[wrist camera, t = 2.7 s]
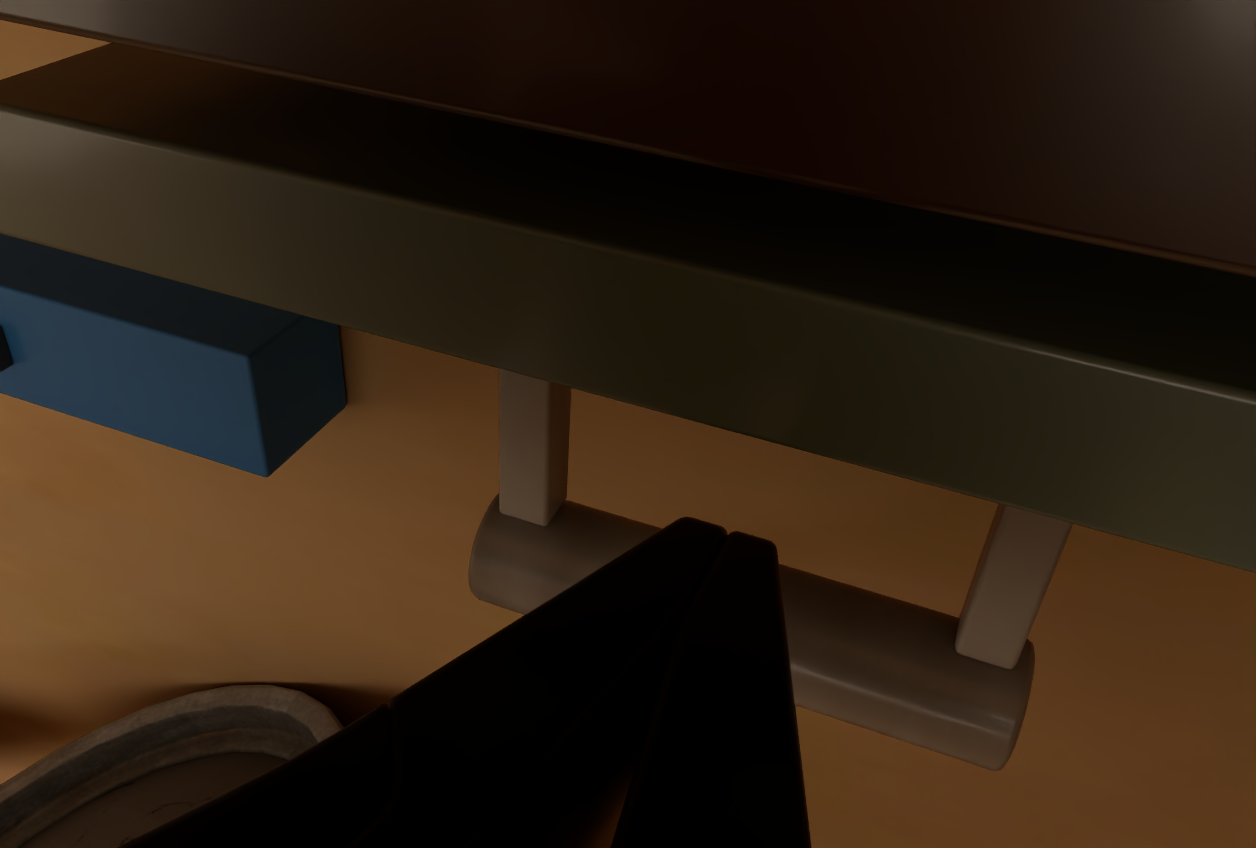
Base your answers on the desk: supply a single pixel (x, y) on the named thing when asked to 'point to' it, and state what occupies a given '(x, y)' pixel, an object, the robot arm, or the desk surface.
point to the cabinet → (809, 93)
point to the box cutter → (164, 357)
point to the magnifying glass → (157, 765)
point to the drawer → (689, 339)
